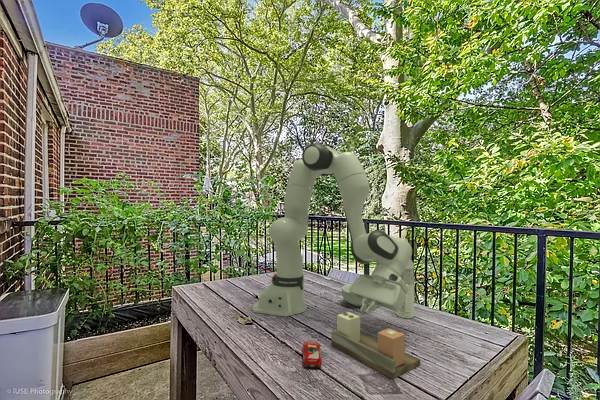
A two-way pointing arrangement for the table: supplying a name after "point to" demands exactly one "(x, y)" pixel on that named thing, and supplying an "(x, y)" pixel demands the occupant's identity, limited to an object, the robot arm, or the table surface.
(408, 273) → the water bottle
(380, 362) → the board
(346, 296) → the cereal bowl
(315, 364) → the race car
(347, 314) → the cream rectangular block
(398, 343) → the terracotta key
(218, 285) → the table surface
